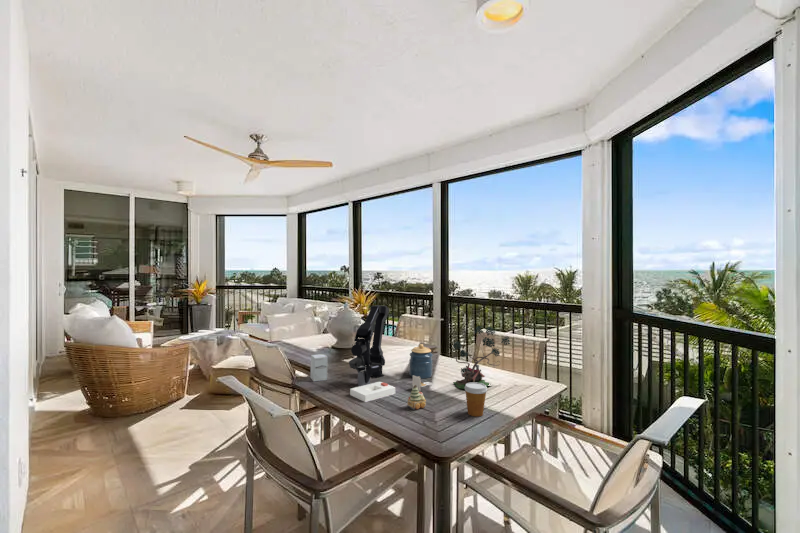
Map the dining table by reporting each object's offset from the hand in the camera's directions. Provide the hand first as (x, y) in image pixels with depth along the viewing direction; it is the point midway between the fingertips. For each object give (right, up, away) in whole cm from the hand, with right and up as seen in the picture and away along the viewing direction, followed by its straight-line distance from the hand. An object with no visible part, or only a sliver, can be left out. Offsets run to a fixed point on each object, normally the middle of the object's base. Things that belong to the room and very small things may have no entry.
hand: (364, 382), depth 201 cm
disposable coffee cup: (+50, -3, -36) cm, 62 cm away
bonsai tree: (+61, -3, +1) cm, 61 cm away
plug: (0, -2, 0) cm, 2 cm away
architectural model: (+27, -3, -7) cm, 28 cm away
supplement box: (-25, -1, +9) cm, 26 cm away
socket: (+6, -2, -14) cm, 15 cm away
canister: (+30, -2, +19) cm, 36 cm away
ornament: (+26, -3, -29) cm, 39 cm away
